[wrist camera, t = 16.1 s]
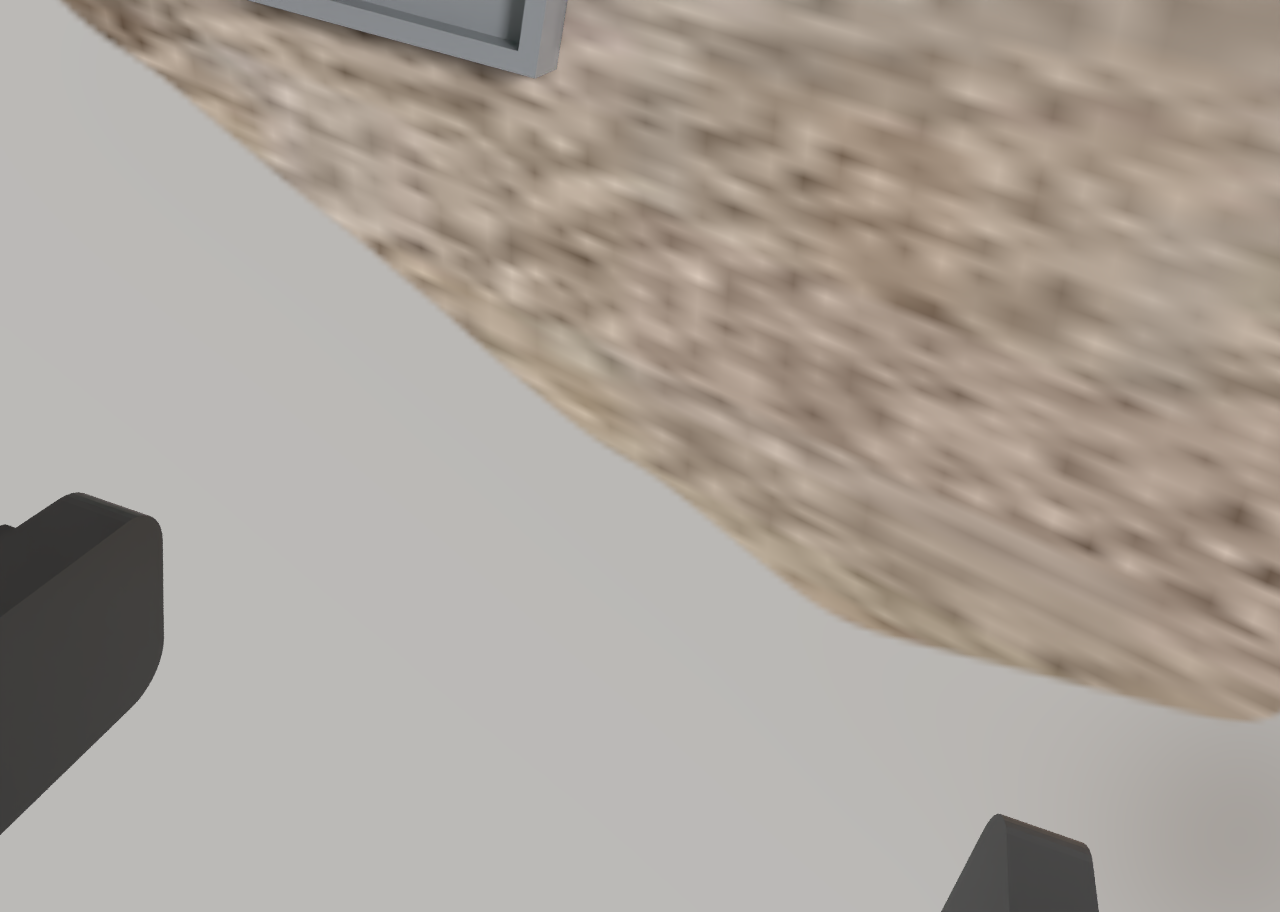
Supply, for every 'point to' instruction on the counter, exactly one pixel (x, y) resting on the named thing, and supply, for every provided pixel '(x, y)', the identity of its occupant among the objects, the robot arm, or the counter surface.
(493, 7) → the tray
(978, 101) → the counter surface
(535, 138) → the counter surface
